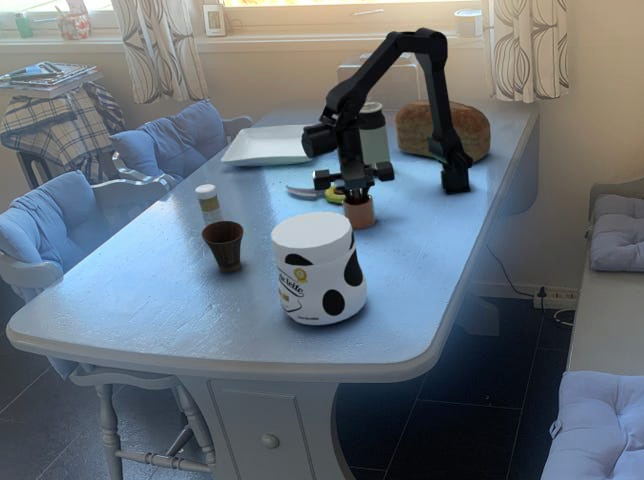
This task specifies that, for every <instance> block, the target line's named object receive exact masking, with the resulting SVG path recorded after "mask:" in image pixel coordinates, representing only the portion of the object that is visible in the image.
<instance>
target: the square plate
mask: <svg viewBox="0 0 644 480" xmlns="http://www.w3.org/2000/svg"><path fill="white" fill-rule="evenodd" d="M316 124H317V123H316ZM316 124H315V123H314V124H292V125H289V124H288V125H287V124H286V125H272V126H271V125H270V126H262V127H251V128H242V129H241V130H240V131H239V132H238V134H237V135H236V137H235V138H234V140H233V141H232V142H231V144H230V145H229V147H228V149H227V150H226V152H225V153H224V155H223V156H222V157H221V159H220V163H222V164H225V165H226V166H230V167H231V166H232V167H242V166H243V167H249V168H250V167H263V166H265V167H266V166H279V165H280V166H281V165H296V164H301V163H305V162H306V163H307V162H311V161H313V159H314V158H312V159H310V158H308V157H307V155H306V154H305V152H304V150H303V147H302V143H301V140H302V134H303V133H304V131H303V127H306V126H313V125H316Z"/></svg>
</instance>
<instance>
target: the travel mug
mask: <svg viewBox="0 0 644 480" xmlns="http://www.w3.org/2000/svg"><path fill="white" fill-rule="evenodd" d="M383 107H384V105H383V104H382V103H380V102H376V101H367V102H365V104H364V106H363V107H362V109H361V110H360V112H359V114H360V115H361V117H362V118H364V119H365V120H367V123H366V124H363V125H359V130H360V137H361V144H362V151H363V158H364V163H365V164H366V165H368V164H372V168H375V163H378V162H386V161H389V162H391V156H390V148H389V138H388V131H387V124H386V123H387V122H386V117H385V115H384V113H383V111H382V110H383ZM375 178H378V176H376V177H375Z"/></svg>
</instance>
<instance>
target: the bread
mask: <svg viewBox="0 0 644 480" xmlns="http://www.w3.org/2000/svg"><path fill="white" fill-rule="evenodd" d="M449 103H450V109H451V115H452V122H453V127H454V129H455V130H456V132H457V134H458V135H459V137H460V139H461V142H462V145H463V148H464V152H465V153H466V154H467V155H469V156H470V157H471V158H473V163H475V162H478V161H480V160H481V159H483V158H484V157H485V156H486V155H487V154H488V153H489V152H490V149H491V141H492V136H491V135H492V134H491V123H490V121H489V119H488V117H487V116H486V115H485V113H484V112H483V111H481V110H480V109H478V108H476V107H474V106H471V105H467V104H464V103H461V102H455V101H452V100H449ZM394 125H395V135H396V143H397V147H398V149H399V150H400V151H402V152H403V153H406V154H411V155H421V156H426V157H430V158H434V157H433V156H432V153H431V152H429V144H428V141H427V137H428V136H431V135H432V133H433V129H434V128H433V121H432V116H431V110H430V104H429V99H417V100H415V101H411V102H407V103H406V104H404V105H403V106H401V107H399V109H398V110H397V112H396V113H395V115H394Z"/></svg>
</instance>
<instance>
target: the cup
mask: <svg viewBox="0 0 644 480" xmlns="http://www.w3.org/2000/svg"><path fill="white" fill-rule="evenodd" d="M244 233H245V232H244V227H243V226H242V224H241V223H239V222H236V221H233V220H224V221H219V222H215V223H212V224H210V225H208V226H207V227H206V226H205V227H204V228H203V229H202V231H201V237H202V240H203V241H204V242H205V243H206V245H207V246H208V247H209V249H210V252H211V254H212V255H213V257H214V260H215V261H216V263H217V267H218V269H219V271H221V272H223V273H227V274H228V273H235V272H237V271H239V270H240V269H241V267H242V262H241V246H242V240H243V237H244Z"/></svg>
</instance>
